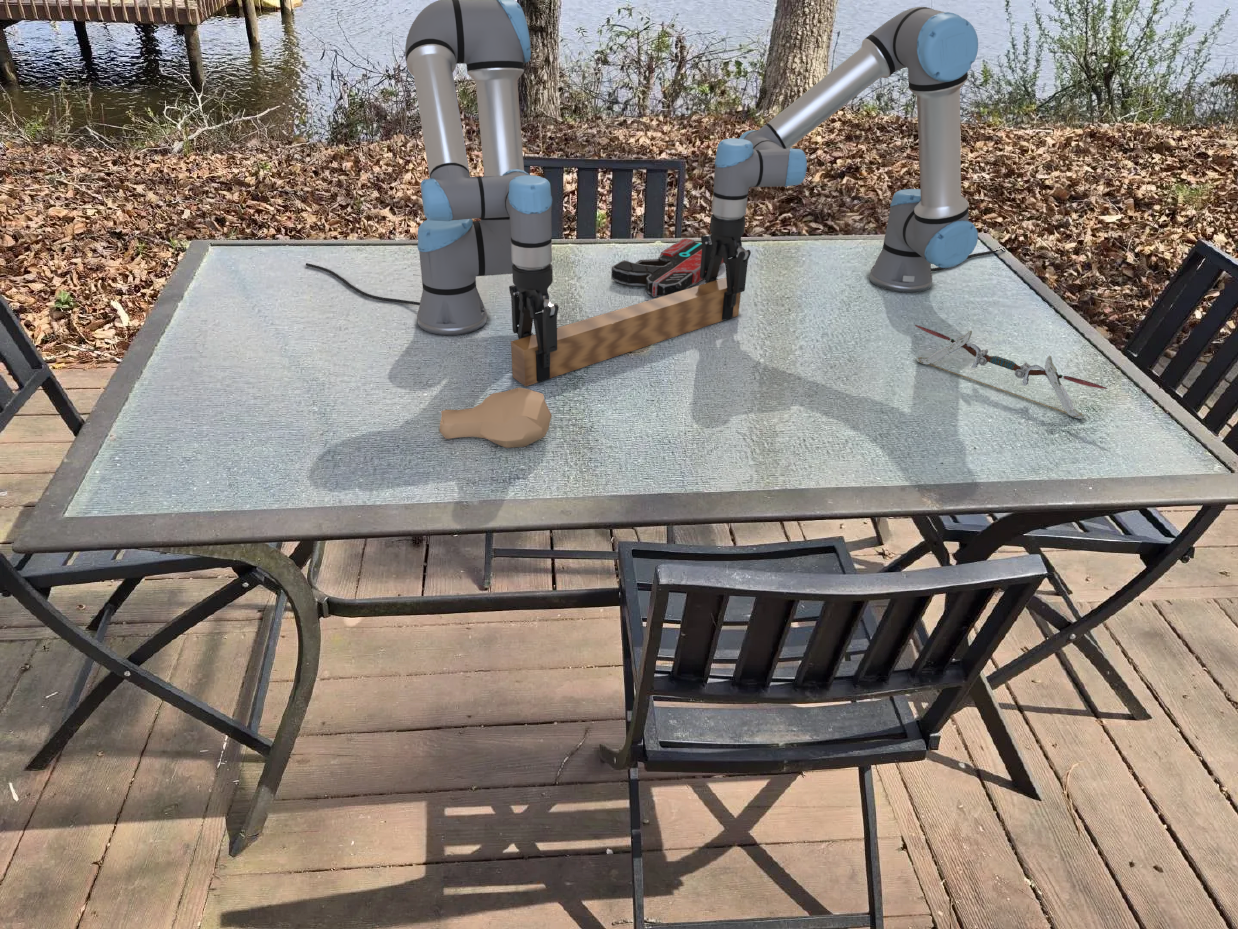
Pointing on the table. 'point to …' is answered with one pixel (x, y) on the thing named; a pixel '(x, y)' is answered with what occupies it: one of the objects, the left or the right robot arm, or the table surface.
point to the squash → (501, 419)
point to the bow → (1020, 371)
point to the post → (624, 330)
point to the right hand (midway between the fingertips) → (718, 314)
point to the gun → (664, 269)
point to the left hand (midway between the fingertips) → (535, 374)
